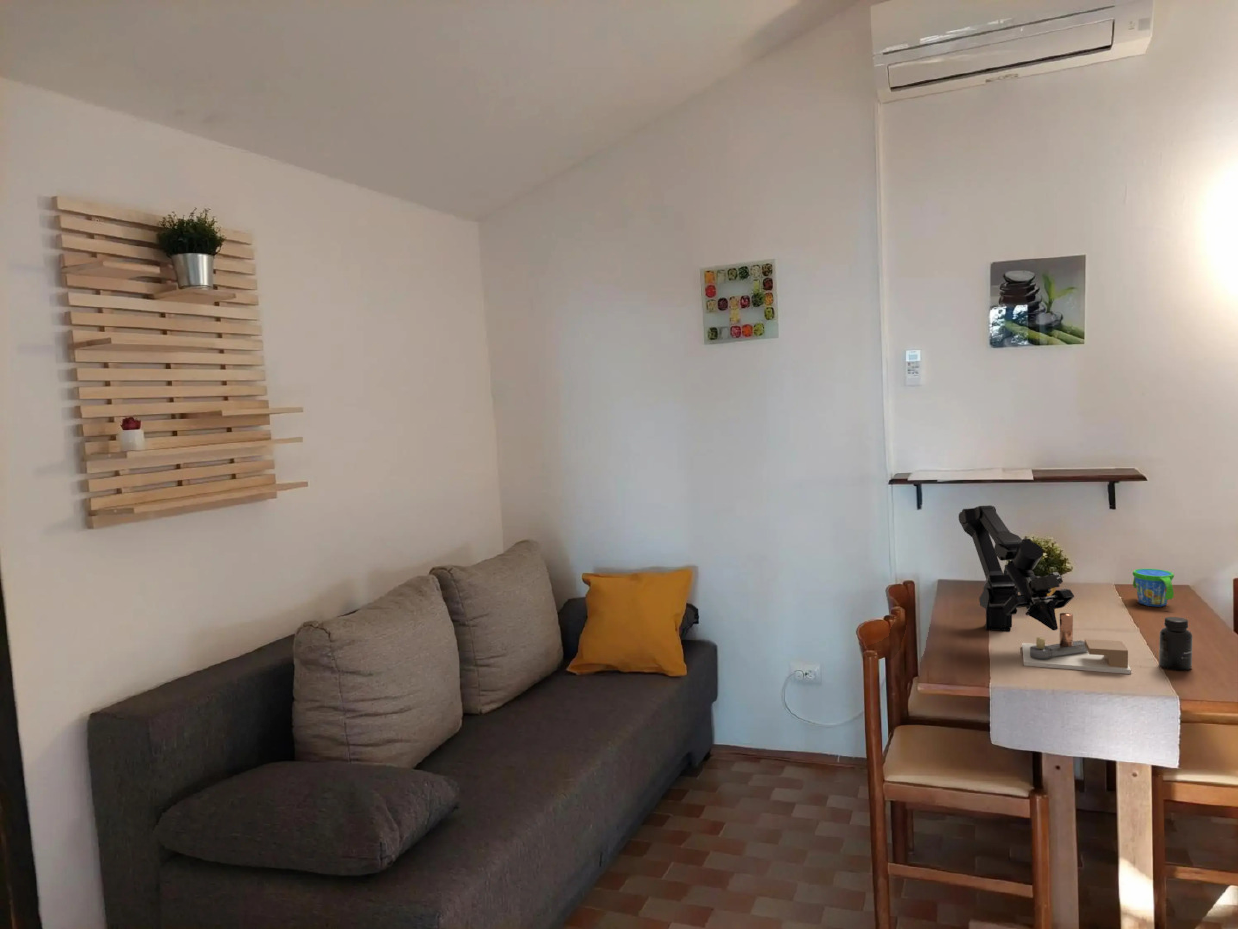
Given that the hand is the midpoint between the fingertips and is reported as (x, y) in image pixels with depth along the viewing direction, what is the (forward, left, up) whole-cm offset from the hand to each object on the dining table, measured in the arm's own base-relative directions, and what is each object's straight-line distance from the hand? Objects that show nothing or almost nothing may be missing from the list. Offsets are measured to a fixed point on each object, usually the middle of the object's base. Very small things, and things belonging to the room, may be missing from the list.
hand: (1055, 629), depth 227 cm
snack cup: (+30, +60, -7) cm, 68 cm away
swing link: (+1, -3, -5) cm, 6 cm away
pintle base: (+4, -3, -7) cm, 8 cm away
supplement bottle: (+26, -3, -7) cm, 27 cm away
